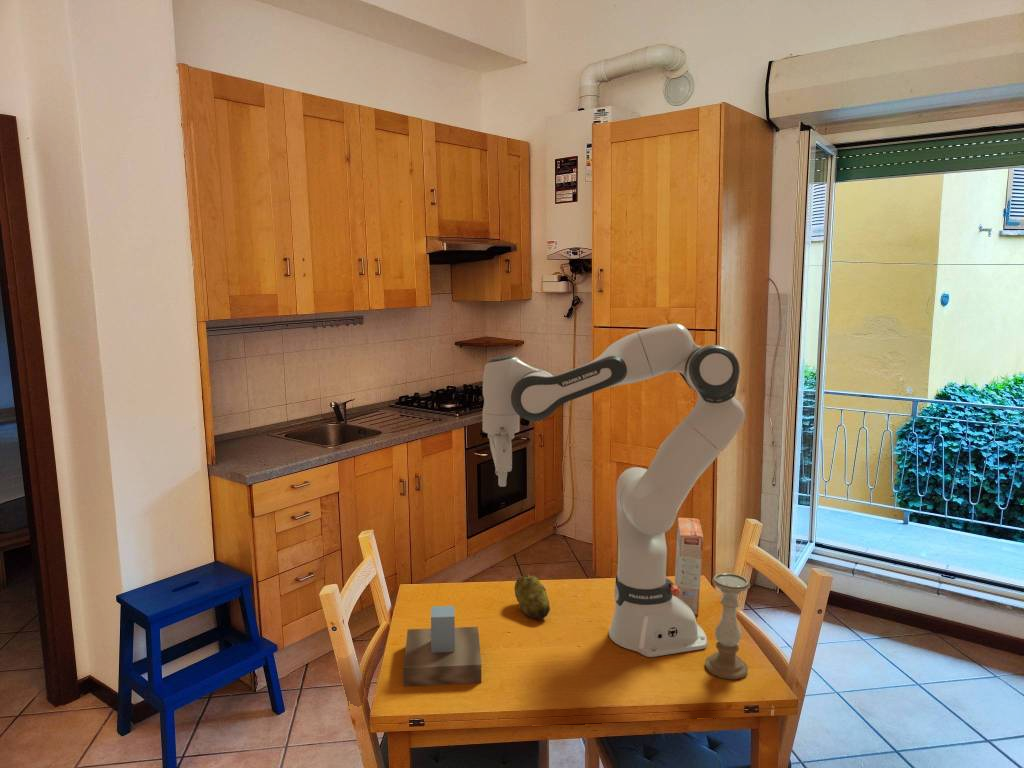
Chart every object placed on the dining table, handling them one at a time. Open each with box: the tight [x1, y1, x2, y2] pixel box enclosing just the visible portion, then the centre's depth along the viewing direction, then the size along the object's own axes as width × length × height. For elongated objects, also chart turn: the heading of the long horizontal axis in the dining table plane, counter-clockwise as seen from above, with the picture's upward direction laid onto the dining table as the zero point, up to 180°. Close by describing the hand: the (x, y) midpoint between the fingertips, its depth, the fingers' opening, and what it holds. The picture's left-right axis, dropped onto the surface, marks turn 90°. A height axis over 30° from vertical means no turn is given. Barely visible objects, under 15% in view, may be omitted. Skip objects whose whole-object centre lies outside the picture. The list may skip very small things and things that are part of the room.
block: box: [430, 605, 456, 653], centre depth 150 cm, size 5×5×8 cm
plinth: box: [402, 626, 482, 687], centre depth 151 cm, size 16×16×4 cm
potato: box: [514, 574, 551, 620], centre depth 175 cm, size 8×13×8 cm, turn 4°
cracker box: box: [673, 517, 704, 616], centre depth 179 cm, size 14×6×21 cm, turn 168°
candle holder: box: [704, 572, 751, 680], centre depth 149 cm, size 9×9×20 cm
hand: (500, 480), depth 167 cm, fingers open, 8 cm apart
